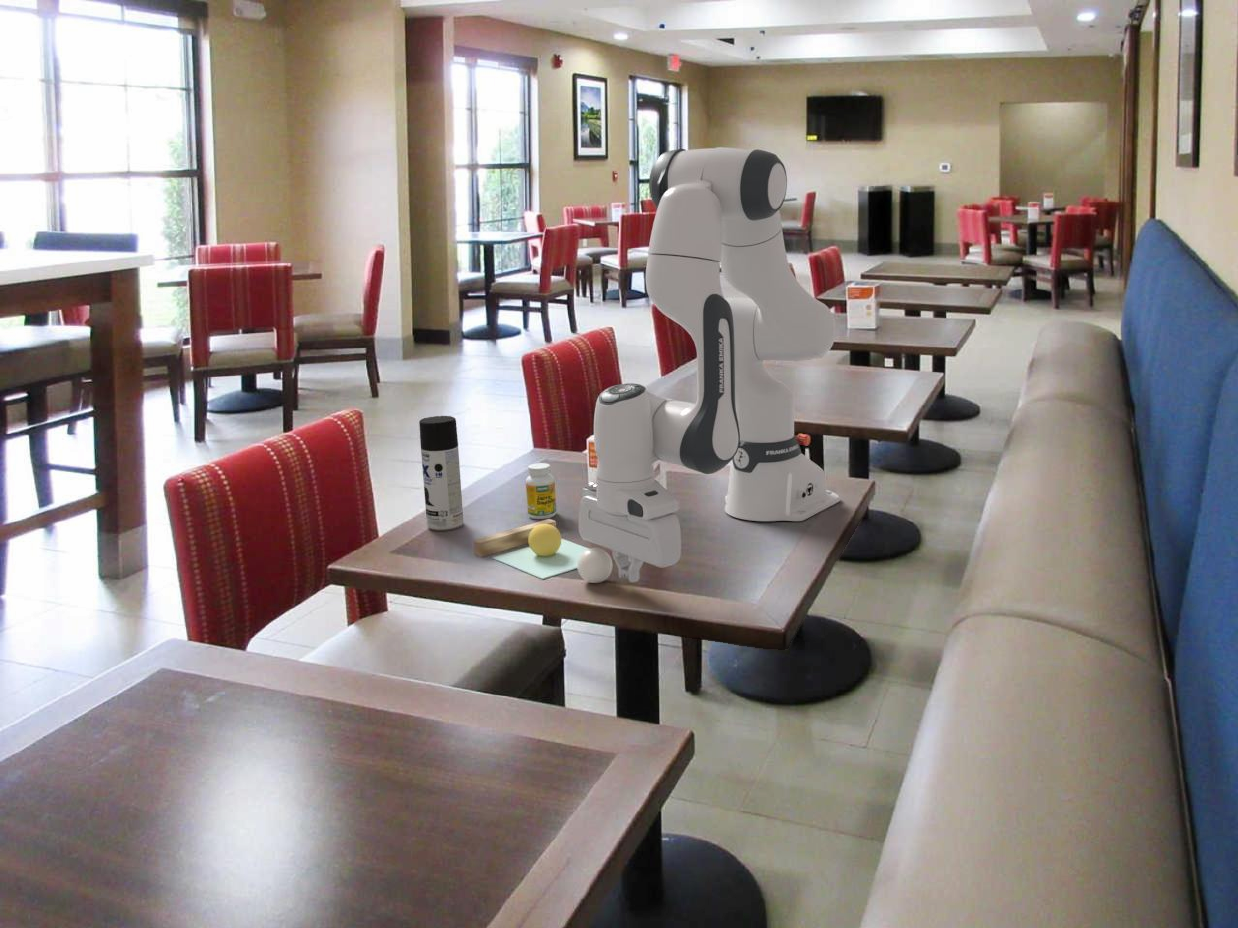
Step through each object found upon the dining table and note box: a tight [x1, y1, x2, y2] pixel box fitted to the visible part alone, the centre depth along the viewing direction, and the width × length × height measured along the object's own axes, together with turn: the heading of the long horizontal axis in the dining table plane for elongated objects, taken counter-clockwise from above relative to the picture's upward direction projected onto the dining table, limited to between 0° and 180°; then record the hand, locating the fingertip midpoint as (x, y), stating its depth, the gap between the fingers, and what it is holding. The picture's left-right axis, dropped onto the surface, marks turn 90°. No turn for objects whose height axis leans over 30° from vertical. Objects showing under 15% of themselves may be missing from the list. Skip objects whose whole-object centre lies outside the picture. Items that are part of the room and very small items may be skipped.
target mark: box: [492, 537, 590, 581], centre depth 194 cm, size 14×14×1 cm
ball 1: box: [528, 524, 562, 557], centre depth 194 cm, size 6×6×6 cm
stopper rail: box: [472, 518, 557, 558], centre depth 201 cm, size 16×2×2 cm, turn 130°
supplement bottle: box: [525, 462, 557, 520], centre depth 215 cm, size 5×5×10 cm
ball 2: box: [577, 547, 613, 584], centre depth 182 cm, size 6×6×6 cm
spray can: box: [418, 415, 464, 532], centre depth 210 cm, size 7×7×20 cm
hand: (629, 579), depth 179 cm, fingers closed
